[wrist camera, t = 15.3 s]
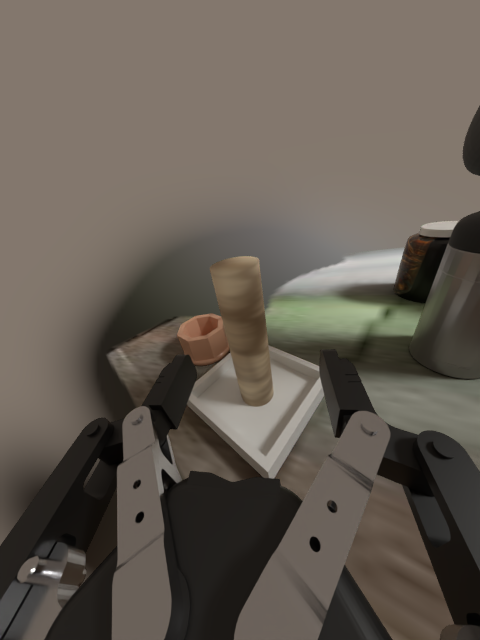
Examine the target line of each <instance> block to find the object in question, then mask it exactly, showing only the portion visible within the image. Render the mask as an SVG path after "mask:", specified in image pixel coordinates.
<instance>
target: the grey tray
mask: <svg viewBox="0 0 480 640" xmlns="http://www.w3.org/2000/svg"><path fill="white" fill-rule="evenodd" d="M268 346H269V345H268ZM269 355H270V364H271V373H272V382H273V391H274V394H273V397H272V399H271V400H270V401H269V402H268V403H267V404H265V405H263V406H259V407H254V406H250V405H248V404H246V403H245V402H244V401H243V399H242V397H241V393H240V389H239V385H238V381H237V377H236V373H235V368H234V364H233V360H232V356H231V353H229V354H228V355H227V356H226V357H225V358H223V359H222V360H221V361H220V362H219V363H218V364H216V365H215V366H214V367H213V368H212V369H210V370H209V371H208V372H207V373H206V374H204V375H203V376H202V377H201V378H200V379H198V380H197V381H196V382H195V384H194V387H193V389H192V392H191V395H190V397H189V400H188V402H187V406H189V407H190V408H191V409H192V410H193V411H194V412H195V413H196V414H197V415H198V416H199V417H200V418H201V419H202V420H203V421H204V422H205V423H206V424H207V425H209V426H210V427H211V428H212V429H213V430H214V431H215V432H216V433H217V434H218V435H219V436H220V437H221V438H222V439H223V440H224V441H225V442H226V443H228V444H229V445H230V446H231V447H232V448H233V449H234V450H235V451H236V452H237V453H238V454H239V455H240V456H241V457H242V458H243V459H244V460H245V461H246V462H248V463H249V464H250V465H251V466H252V467H253V468H254V469H255V470H256V471H257V472H258V473H259V474H260V475H261V476H262V477H263V478H273V479H274V477H275V476H276V474H277V472H278V471H279V469H280V468H281V466H282V464H283V463H284V461H285V459H286V458H287V456H288V454H289V453H290V451H291V449H292V448H293V446H294V444H295V443H296V441H297V439H298V438H299V436H300V434H301V433H302V431H303V429H304V428H305V426H306V425H307V423H308V421H309V420H310V418H311V416H312V415H313V413H314V411H315V410H316V408H317V406H318V405H319V403H320V401H321V400H322V398H323V396H324V391H323V387H322V383H321V379H320V373H319V366H318V365H315V364H313V363H310V362H308V361H306V360H303V359H301V358H298V357H296V356H294V355H291V354H289V353H286V352H284V351H281V350H279V349H277V348H274V347H272V346H269Z"/></svg>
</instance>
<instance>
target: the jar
mask: <svg viewBox="0 0 480 640" xmlns="http://www.w3.org/2000/svg"><path fill="white" fill-rule="evenodd" d="M458 222H459V221H444V222H434V223H428V224H424V225H422V226H421V228H420V231H419V233H418V234H415V235H412V236H410V237H409V238H408V241H407V243H406V246H405V249H404V252H403V256H402V259H401V263H400V266H399V270H398V274H397V278H396V281H395V285H394V292H395V293H396V294H397V295H398V296H400V297H402V298H405V299H408V300H411V301H415V302H421V303H426V301H427V298H428V295H429V293H430V290H431V287H432V285H433V282H434V280H435V277H436V274H437V272H438V269H439V266H440V263H441V261H442V258H443V255H444V253H445V250H446V247H447V245H448V242H449V239H450V237H451V234H452V231H453V229H454V227H455V225H456V224H457V223H458Z"/></svg>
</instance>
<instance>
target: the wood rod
mask: <svg viewBox="0 0 480 640" xmlns="http://www.w3.org/2000/svg"><path fill="white" fill-rule="evenodd" d="M210 272H211V275H212V280H213V284H214V288H215V291H216V296H217V300H218V304H219V308H220V312H221V316H222V320H223V324H224V328H225V332H226V336H227V340H228V344H229V348H230V352H231V356H232V360H233V364H234V368H235V373H236V377H237V381H238V385H239V389H240V393H241V397H242V399H243V401H244V402H245V403H246V404H248V405H250V406H254V407H259V406H263V405H265V404H267V403H268V402H269V401H270V400H271V399H272V397H273V394H274V391H273V382H272V373H271V364H270V355H269V346H268V337H267V328H266V319H265V310H264V301H263V292H262V283H261V275H260V266H259V259H258V258H256V257H252V256H241V257H234V258H229V259H225V260H222V261H219V262H217V263H215V264H213V265H212V266H211V267H210Z"/></svg>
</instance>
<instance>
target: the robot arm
mask: <svg viewBox="0 0 480 640" xmlns="http://www.w3.org/2000/svg"><path fill="white" fill-rule="evenodd" d="M463 160H464V165H465V167H466V168H467V170H468V171H470V172H471V173H473V174H475V175H479V176H480V106H479V108H478V110H477V112H476V114H475V116H474V118H473V120H472V122H471V124H470V127H469V129H468V132H467V135H466V138H465V142H464V146H463ZM409 351H410V353H411V355H412V356H413V357H414V358H415V359H416V360H417V361H418V362H419V363H420V364H422V365H424V366H425V367H427V368H429V369H431V370H433V371H435V372H438V373H441V374H444V375H447V376H451V377H456V378H462V379H476V378H480V211H479V212H476V213H473V214H471V215H468V216H466V217H464V218H463V219H461V220H460V221H459V222H458V223H457V224H456V225H455V227H454V229H453V231H452V234H451V237H450V239H449V242H448V245H447V247H446V250H445V253H444V255H443V258H442V261H441V263H440V266H439V269H438V272H437V274H436V277H435V280H434V282H433V285H432V287H431V290H430V293H429V295H428V298H427V301H426V303H425V306H424V309H423V311H422V314H421V317H420V319H419V322H418V325H417V327H416V330H415V332H414V335H413V338H412V340H411V343H410V346H409ZM319 373H320V379H321V383H322V387H323V391H324V396H325V400H326V404H327V408H328V412H329V416H330V420H331V424H332V428H333V432H334V436H335V437H337V438H340V439H339V440H338V442H337V444H336V446H335V448H334V450H333V452H332V453H331V454H330V455H329V456H328V457H327V458H326V460H325V462H324V463H323V465H322V467H321V469H320V471H319V473H318V474H317V476H316V478H315V480H314V482H313V484H312V485H311V487H310V489H309V491H308V493H307V495H306V497H305V498H304V500H303V501H302V500H301V499H300V498H299V497H298V496H297V495H296V494H294V493H293V492H292V491H290V490H289V489H287V488H285V487H283V486H281V484H280V479H273V478H262V477H254V478H249V479H245V480H241V481H236V482H230V481H228V480H225V479H223V478H221V477H219V476H217V475H215V474H212V473H208V472H197V471H190V474H189V478H187V479H184V480H182V479H181V476H180V474H179V472H178V470H177V467H176V464H175V460H174V455H173V451H172V447H171V443H170V439H169V436H168V432H169V430H170V429H178V426H179V423H180V421H181V418H182V415H183V413H184V410H185V408H186V405H187V402H188V400H189V397H190V395H191V392H192V389H193V387H194V384H195V381H196V378H197V372H196V369H195V366H194V364H193V362H192V359H191V357H190V355H188V354H187V355H176V356H175V358H174V360H173V362H172V363H169V364H168V365H167V366H166V367H165V368H164V369H163V370H162V372H161V373H160V375H159V378H158V379H157V380H156V383H155V384H154V386H153V387H152V389H151V391H150V392H149V394H148V396H147V398H146V399H145V401H144V403H143V404H142V406H141V407H138V408H135V409H134V410H132V411H131V412H130V413H129V414H128V415H127V416H126V418H124V419H121V420H118V421H114V422H111V423H110V422H109V421H108V420H107V419H106V418H98V419H96V420H94V421H92V422H91V423H89V424H88V425H87V426H86V427H85V428H84V429H83V430H82V432H81V433H80V435H79V436H78V437H77V439H76V440H75V442H74V443H73V444H72V446H71V447H70V449H69V450H68V451H67V453H66V454H65V456H64V457H63V459H62V460H61V461H60V463H59V464H58V466H57V467H56V469H55V470H54V471H53V473H52V474H51V475H50V477H49V478H48V480H47V481H46V482H45V484H44V485H43V487H42V488H41V489H40V491H39V492H38V494H37V495H36V497H35V498H34V499H33V501H32V502H31V504H30V505H29V506H28V508H27V509H26V511H25V512H24V513H23V515H22V516H21V518H20V519H19V521H18V522H17V523H16V525H15V526H14V528H13V529H12V530H11V532H10V533H9V534H8V536H7V537H6V539H5V540H4V541H3V543H2V544H1V546H0V640H392V638H391V637H390V635H389V634H388V632H387V630H386V629H385V627H384V626H383V624H382V623H381V621H380V619H379V618H378V616H377V615H376V613H375V612H374V610H373V608H372V607H371V605H370V604H369V602H368V601H367V599H366V598H365V596H364V594H363V593H362V591H361V590H360V588H359V587H358V585H357V583H356V582H355V580H354V579H353V577H352V576H351V574H350V572H349V571H348V569H347V568H346V566H345V565H344V564H345V561H346V559H347V556H348V553H349V551H350V548H351V545H352V542H353V540H354V537H355V534H356V531H357V529H358V526H359V523H360V521H361V518H362V515H363V512H364V510H365V507H366V504H367V501H368V499H369V496H370V493H371V490H372V487H373V483H374V480H375V477H376V474H377V475H380V476H382V477H385V478H387V479H390V480H392V481H394V482H397V483H399V484H402V486H403V489H404V491H405V494H406V497H407V499H408V502H409V505H410V507H411V510H412V513H413V515H414V518H415V521H416V523H417V526H418V529H419V531H420V534H421V537H422V539H423V542H424V544H425V547H426V550H427V552H428V555H429V558H430V560H431V563H432V566H433V568H434V571H435V574H436V576H437V579H438V582H439V584H440V587H441V590H442V592H443V595H444V598H445V600H446V603H447V606H448V608H449V611H450V613H451V616H452V619H453V621H454V624H453V625H448V626H446V627H445V628H444V629H443V630H442V632H441V634H440V640H480V472H479V470H478V469H477V467H476V466H475V464H474V462H473V461H472V459H471V458H470V456H469V455H468V453H467V452H466V451H465V449H464V448H463V447H462V446H461V445H460V444H459V443H458V442H456V441H455V440H454V439H452V438H450V437H449V436H447V435H445V434H442V433H440V432H436V431H423V432H421V433H420V434H419V435H417V434H413V433H410V432H407V431H404V430H401V429H398V428H395V427H393V426H391V425H389V424H387V423H386V422H385V421H384V420H383V419H382V418H380V417H379V416H378V415H377V414H376V412H375V410H374V408H373V406H372V404H371V402H370V399H369V397H368V395H367V393H366V391H365V388H364V386H363V384H362V383H361V379H360V377H359V376H358V373H357V371H356V368H355V366H354V365H353V364H352V363H351V362H350V361H349V360H348V359H347V358H346V359H339V357H338V354H337V352H336V350H335V349H328V350H321V351H320V365H319ZM97 458H99V459H100V462H99V464H98V466H97V467H96V469H95V471H94V473H93V474H92V476H91V478H90V480H89V481H88V483H87V485H86V487H85V488H84V490H83V485H84V481H85V479H86V477H87V476H88V474H89V472H90V471H91V469H92V467H93V466H94V464H95V462H96V460H97ZM116 487H117V527H118V528H117V532H118V533H117V536H118V537H117V538H118V539H117V542H118V545H117V546H116V548H115V549H114V550H113V551H112V552H111V553H110V554H109V555H108V556H107V557H106V559H105V560H104V561H103V562H102V563H101V564H100V565H99V566H98V567H97V568H96V570H95V571H94V572H93V573H92V574H91V575H90V576H89V577H88V578H87V580H86V581H85V582H84V583H83V581H84V579H85V576H86V568H85V561H86V557H85V554H86V551H87V549H88V547H89V544H90V543H91V541H92V539H93V536H94V534H95V532H96V530H97V528H98V526H99V523H100V521H101V519H102V517H103V515H104V512H105V511H106V509H107V506H108V504H109V502H110V500H111V498H112V496H113V493H114V491H115V489H116ZM82 583H83V584H82ZM81 584H82V585H81ZM80 585H81V586H80Z"/></svg>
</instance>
